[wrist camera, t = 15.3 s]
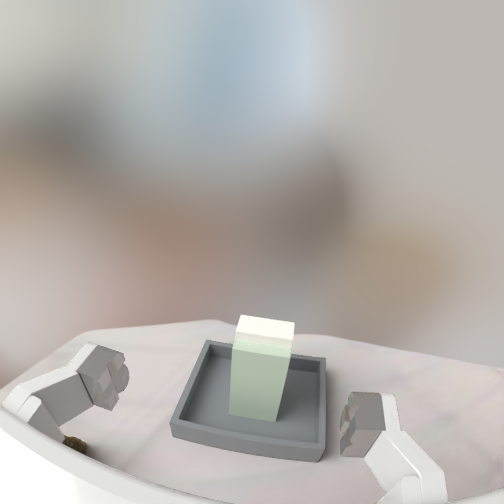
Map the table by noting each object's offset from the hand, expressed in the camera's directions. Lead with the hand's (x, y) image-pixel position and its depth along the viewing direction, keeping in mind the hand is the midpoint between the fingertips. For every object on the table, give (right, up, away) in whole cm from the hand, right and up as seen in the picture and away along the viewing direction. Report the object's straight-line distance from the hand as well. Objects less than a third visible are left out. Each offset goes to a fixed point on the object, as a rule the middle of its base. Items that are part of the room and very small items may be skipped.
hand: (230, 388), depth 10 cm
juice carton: (+1, -15, +29) cm, 33 cm away
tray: (+1, -16, +29) cm, 33 cm away
